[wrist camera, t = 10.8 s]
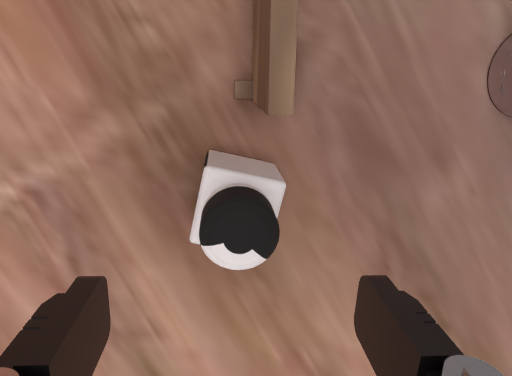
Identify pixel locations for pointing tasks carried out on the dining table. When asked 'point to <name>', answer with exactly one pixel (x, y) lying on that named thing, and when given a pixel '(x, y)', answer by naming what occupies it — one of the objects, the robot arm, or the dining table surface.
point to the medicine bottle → (237, 210)
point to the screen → (272, 57)
